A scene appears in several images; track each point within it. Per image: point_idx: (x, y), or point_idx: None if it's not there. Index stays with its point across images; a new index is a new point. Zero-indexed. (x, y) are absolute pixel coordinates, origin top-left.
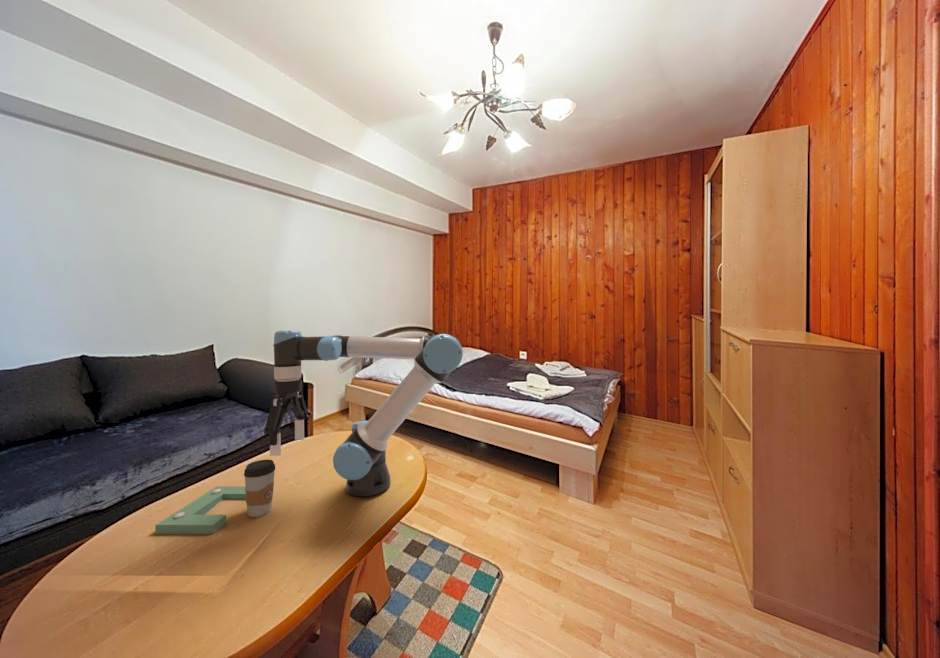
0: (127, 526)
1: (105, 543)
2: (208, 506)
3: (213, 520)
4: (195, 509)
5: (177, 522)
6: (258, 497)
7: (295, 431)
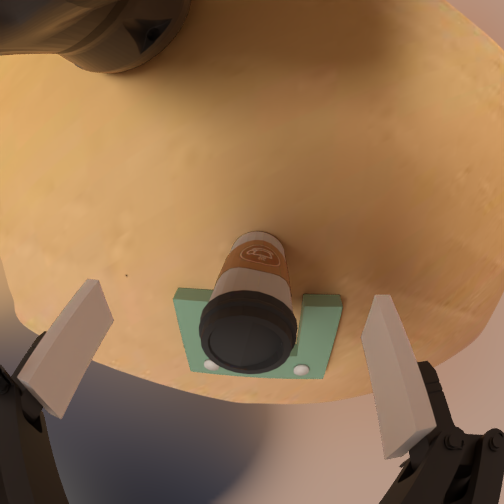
0: (295, 399)
1: (333, 394)
2: None
3: (324, 315)
4: None
5: (321, 360)
6: (286, 271)
7: (90, 355)
